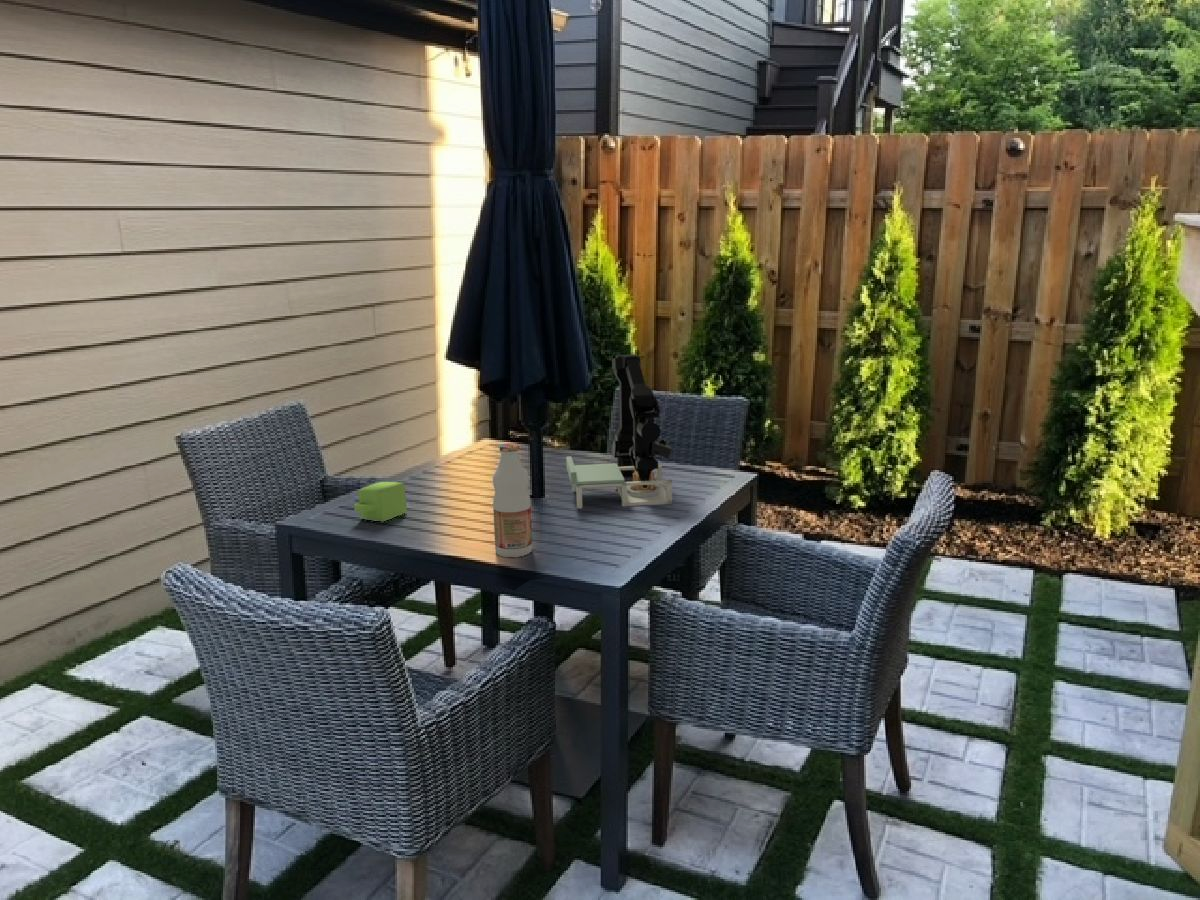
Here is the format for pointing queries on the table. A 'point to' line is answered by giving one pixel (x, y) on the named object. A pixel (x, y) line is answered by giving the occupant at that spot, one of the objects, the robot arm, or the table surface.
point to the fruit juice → (511, 505)
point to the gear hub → (636, 478)
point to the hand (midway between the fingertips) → (643, 484)
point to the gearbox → (381, 501)
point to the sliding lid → (593, 473)
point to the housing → (635, 490)
